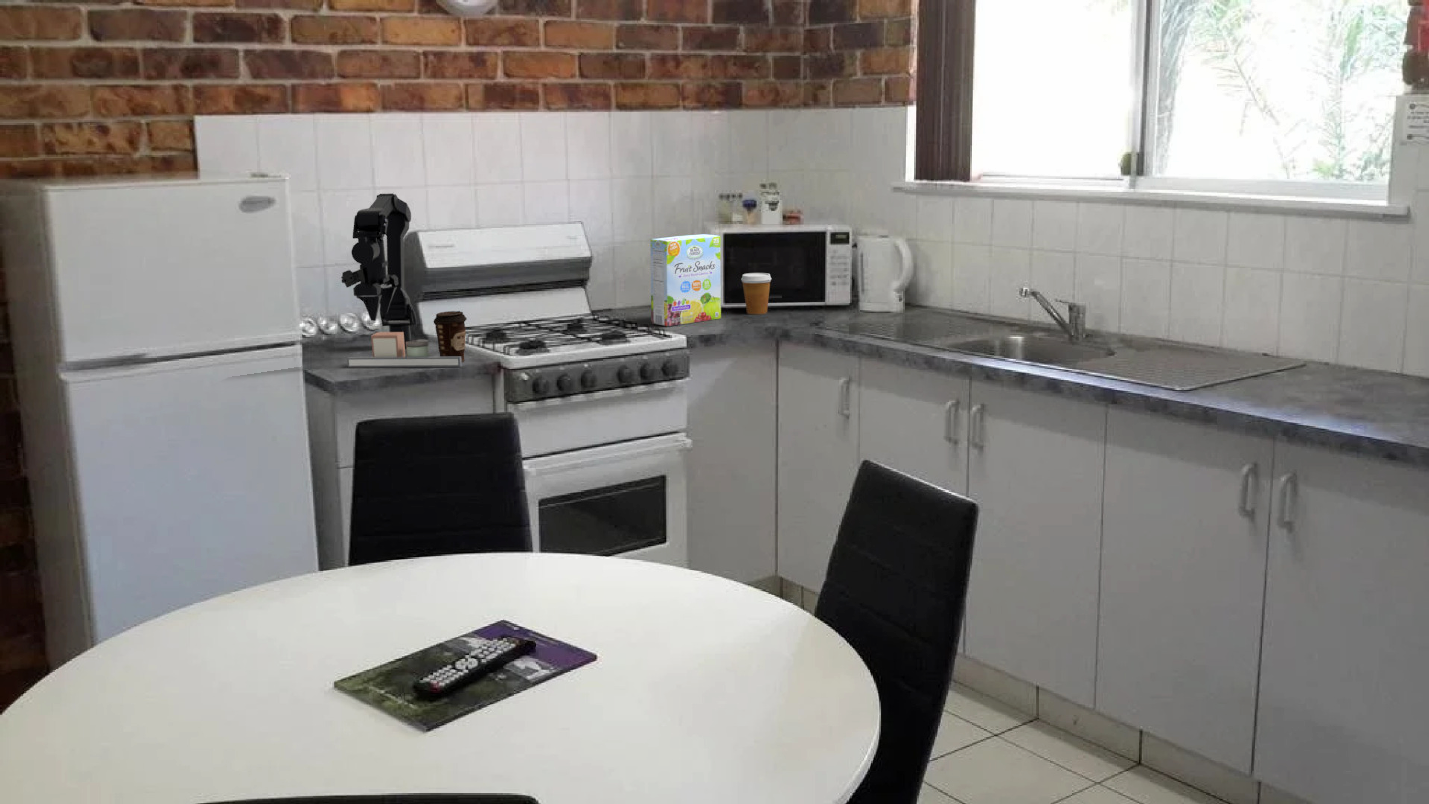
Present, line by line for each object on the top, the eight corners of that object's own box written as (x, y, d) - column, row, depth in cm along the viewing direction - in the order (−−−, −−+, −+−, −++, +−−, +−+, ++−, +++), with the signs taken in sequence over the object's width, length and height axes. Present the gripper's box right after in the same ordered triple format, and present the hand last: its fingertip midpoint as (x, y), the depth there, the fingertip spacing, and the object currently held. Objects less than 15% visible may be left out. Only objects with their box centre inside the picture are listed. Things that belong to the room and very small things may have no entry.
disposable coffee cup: (735, 313, 423) (734, 275, 420) (754, 309, 430) (754, 272, 427) (759, 316, 417) (758, 277, 414) (778, 312, 424) (777, 273, 421)
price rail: (349, 366, 352) (348, 357, 351) (461, 365, 349) (461, 356, 348) (347, 367, 350) (346, 358, 350) (460, 367, 347) (459, 357, 347)
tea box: (380, 362, 357) (377, 332, 356) (405, 361, 357) (403, 332, 355) (373, 365, 352) (370, 335, 351) (399, 365, 352) (396, 335, 350)
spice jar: (411, 362, 356) (409, 339, 355) (432, 361, 356) (431, 339, 354) (404, 366, 351) (402, 343, 349) (426, 366, 350) (424, 343, 349)
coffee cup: (473, 358, 358) (470, 310, 355) (465, 364, 350) (461, 315, 347) (441, 359, 359) (438, 310, 356) (432, 365, 351) (428, 315, 348)
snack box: (668, 327, 400) (665, 240, 394) (650, 324, 406) (647, 238, 401) (723, 318, 414) (721, 234, 408) (704, 315, 420) (702, 232, 414)
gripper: (356, 254, 363) (361, 311, 367) (331, 264, 345) (336, 324, 349) (396, 253, 362) (401, 311, 366) (373, 263, 344) (379, 323, 348)
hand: (379, 317), depth 357 cm, fingers open, 9 cm apart
